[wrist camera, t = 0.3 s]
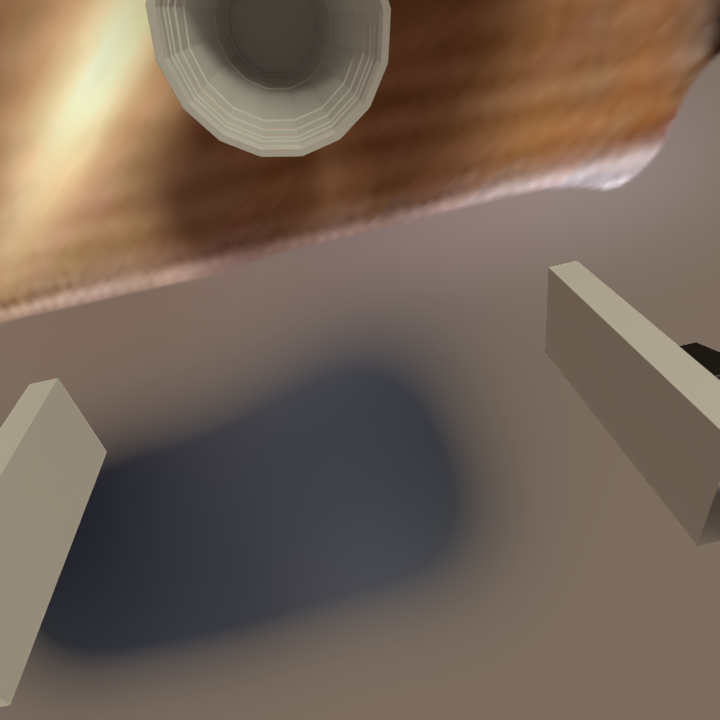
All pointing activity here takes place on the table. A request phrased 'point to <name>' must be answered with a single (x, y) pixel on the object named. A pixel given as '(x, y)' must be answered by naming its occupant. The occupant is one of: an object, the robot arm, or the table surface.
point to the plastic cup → (273, 67)
